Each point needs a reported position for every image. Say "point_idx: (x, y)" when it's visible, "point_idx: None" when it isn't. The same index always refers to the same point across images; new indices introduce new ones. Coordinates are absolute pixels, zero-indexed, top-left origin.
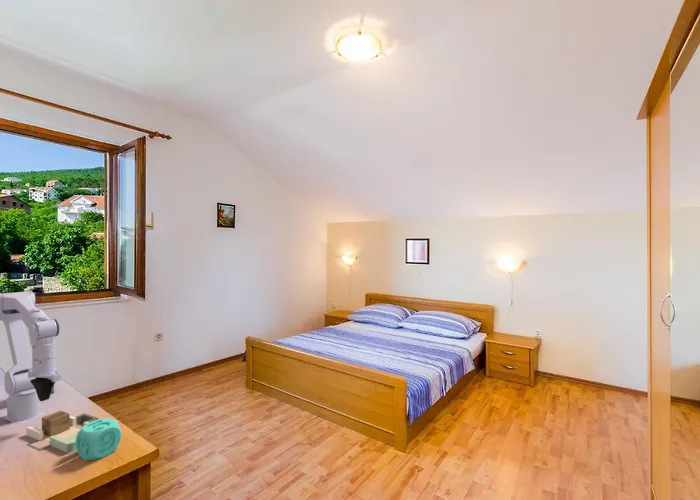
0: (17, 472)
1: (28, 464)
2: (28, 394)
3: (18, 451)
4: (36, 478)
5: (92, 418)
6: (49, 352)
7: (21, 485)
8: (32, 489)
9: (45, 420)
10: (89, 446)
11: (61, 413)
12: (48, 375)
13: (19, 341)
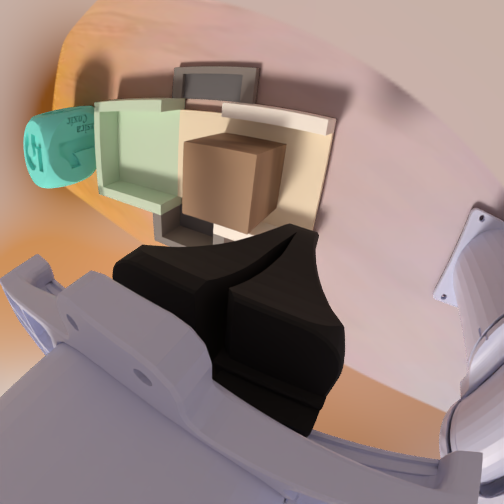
0: (149, 8)
1: (156, 31)
2: (495, 326)
3: (251, 43)
4: (104, 29)
5: (171, 238)
6: None
7: (109, 7)
8: (89, 18)
9: (229, 147)
10: (47, 112)
11: (214, 209)
12: (14, 298)
13: None
